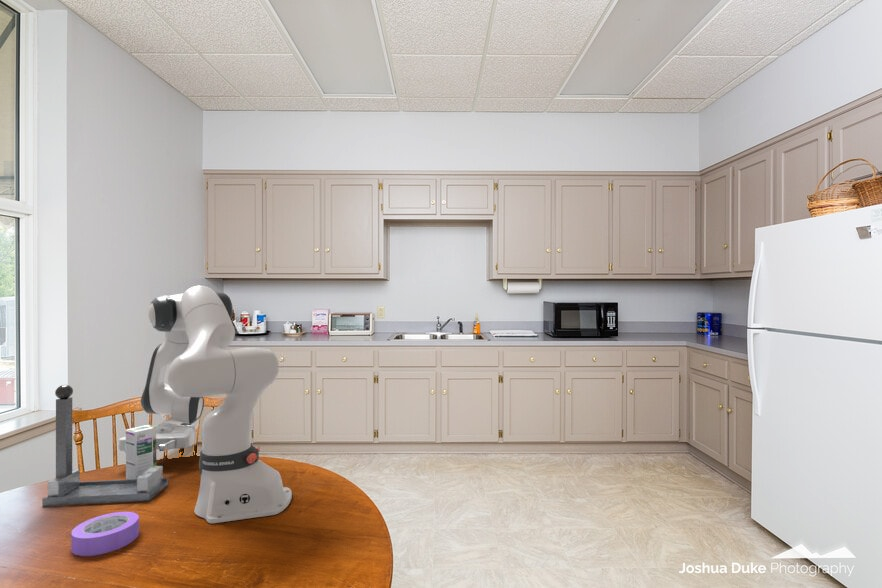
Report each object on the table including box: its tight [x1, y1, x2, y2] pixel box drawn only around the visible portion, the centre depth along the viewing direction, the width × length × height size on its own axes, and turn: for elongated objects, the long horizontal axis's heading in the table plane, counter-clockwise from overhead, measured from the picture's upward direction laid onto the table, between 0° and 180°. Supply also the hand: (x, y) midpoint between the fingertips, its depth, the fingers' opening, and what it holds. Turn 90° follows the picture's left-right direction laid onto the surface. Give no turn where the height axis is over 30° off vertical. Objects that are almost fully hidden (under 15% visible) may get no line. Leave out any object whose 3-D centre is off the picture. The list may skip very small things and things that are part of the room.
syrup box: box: [124, 424, 157, 480], centre depth 132 cm, size 6×6×14 cm
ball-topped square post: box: [47, 384, 81, 497], centre depth 119 cm, size 4×8×28 cm, turn 7°
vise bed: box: [41, 465, 169, 507], centre depth 120 cm, size 25×10×6 cm, turn 97°
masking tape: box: [70, 511, 140, 557], centre depth 98 cm, size 12×12×4 cm
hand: (144, 449), depth 133 cm, fingers open, 8 cm apart
